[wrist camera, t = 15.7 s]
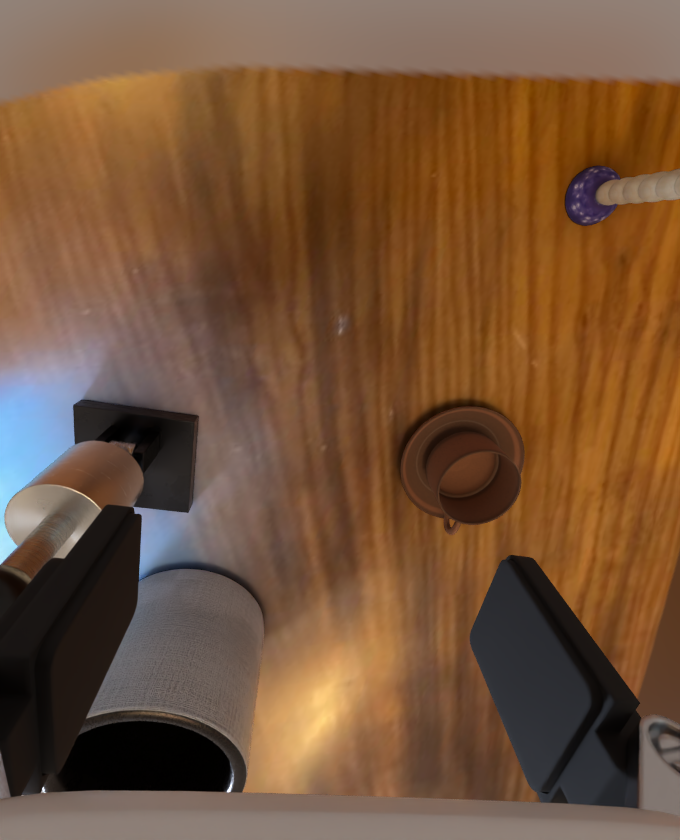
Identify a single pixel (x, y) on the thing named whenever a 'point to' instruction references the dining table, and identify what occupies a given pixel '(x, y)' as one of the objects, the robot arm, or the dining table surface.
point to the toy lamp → (615, 192)
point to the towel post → (65, 507)
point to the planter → (174, 693)
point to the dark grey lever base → (147, 448)
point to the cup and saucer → (464, 466)
